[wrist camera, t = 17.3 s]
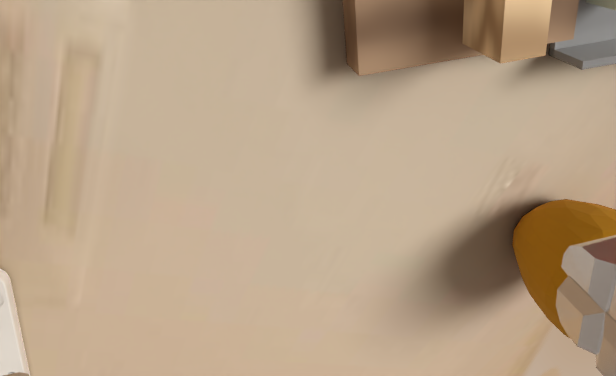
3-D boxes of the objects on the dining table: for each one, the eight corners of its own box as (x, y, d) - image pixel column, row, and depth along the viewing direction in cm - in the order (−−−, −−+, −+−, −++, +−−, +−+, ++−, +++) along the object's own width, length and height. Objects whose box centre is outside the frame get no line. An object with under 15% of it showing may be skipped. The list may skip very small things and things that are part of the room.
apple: (618, 201, 51) (740, 286, 40) (544, 286, 55) (638, 385, 44) (543, 155, 47) (657, 237, 36) (467, 251, 50) (550, 352, 39)
